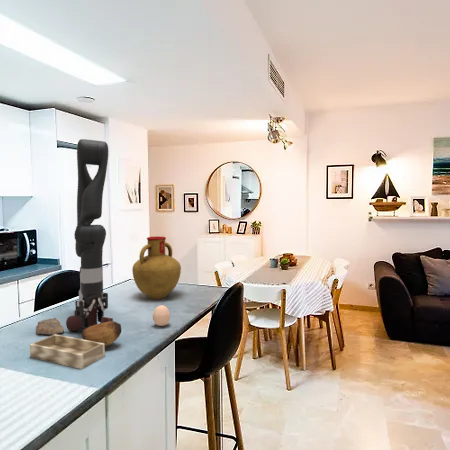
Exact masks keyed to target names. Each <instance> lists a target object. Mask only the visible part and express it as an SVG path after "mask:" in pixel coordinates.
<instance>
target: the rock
mask: <svg viewBox="0 0 450 450" xmlns="http://www.w3.org/2000/svg"><path fill="white" fill-rule="evenodd" d="M64 332H65V329H64V327H63V325H62V324H61V322H60V321H59V320H58V319H57V318H56V317H54V318H46V319H42V320H41V321H38V322H37V325H36V326H35V333H36V335H50V336H52V335H55V334H57V335H59V334H63V333H64Z"/></svg>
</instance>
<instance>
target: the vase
mask: <svg viewBox="0 0 450 450" xmlns="http://www.w3.org/2000/svg"><path fill="white" fill-rule="evenodd" d="M146 240H147V244H145V245H144V246H143V247H142V248H141V250H140V252H139V259H138V260H136V261H135V263H134V264H133V266H132V268H131V269H132V276H133V280H134V282H135V283H134V284H135V285H136V287H137V288H138V290H139V291H140V292H141V293H143V294H144V295H145V296H146V297H148V298H149V299H152V300H161V299H165V298H166V297H167V296H168V295H169V294H171V293H172V292H173V290H175V289H176V286H177V284H178V283H179V280H180V277H181V273H182V272H181V271H182V266H181V263H180V262H179V260H177V259H175V257H173V248H172V245H170V244H169V243H168V242H166V240H167V238H166V237H165V236H159V235H157V236H148V237H146ZM166 249H167V251H168V254H166ZM146 251H147V255H145V253H146Z"/></svg>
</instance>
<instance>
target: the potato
mask: <svg viewBox="0 0 450 450" xmlns="http://www.w3.org/2000/svg"><path fill="white" fill-rule="evenodd" d="M121 333H122V325H121V324H120V323H118V321H117V322H116V321H114V320H113V321H111V322H104V323H100V322H99V323H97V324H96V325H93V326H90V327H88V328H86V329H83V330H82V332H81V337H82V338H81V339H83V340H89V341H94V342H99V343H104V344H105V348H106V347H108V346H111V345H112V344H113V343H115V342H116V341H117V339H118V338H119V337H120V335H121Z"/></svg>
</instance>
